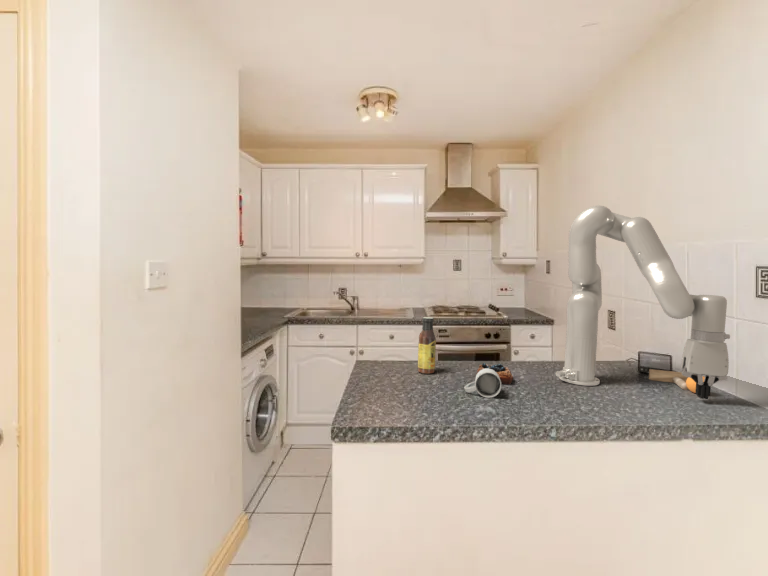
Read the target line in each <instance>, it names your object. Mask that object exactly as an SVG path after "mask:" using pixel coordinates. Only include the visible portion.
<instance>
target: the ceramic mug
mask: <svg viewBox="0 0 768 576" xmlns="http://www.w3.org/2000/svg"><path fill="white" fill-rule="evenodd" d="M502 385H503V384H501V380H500V378H499V376H498V374H497V373H496V372H495V371H494V370H492V369H489V368H485V369H482V370H480V371H479V372H478V373H477V372H476V374H475V380H474V381H472V382H469V383H468V384H466V385H465V386H464V387H463V388H464V391H465V393H473V392H476V393H478V395H480V396H481V397H483V398H486V399H489V398H490V399H491V398H492V399H493V398H495V397H497V395H499V394H500V392H501V390H502Z"/></svg>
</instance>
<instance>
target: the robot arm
mask: <svg viewBox="0 0 768 576" xmlns="http://www.w3.org/2000/svg"><path fill="white" fill-rule="evenodd" d="M568 232H569V233H568V251H567V253H568V259H567V260H568V272H567V273H568V279H569V280H570V281H571V285H572V287H571V290H572V293H571V295H570V296H569V297H568V300H567V302H566V332H565V352H564V366H563V367H562V370H557V371H556V372H555V376H556V377H557V378H559V379H560V380H561V381H563V382H565V383H569V384H571V385H572V384H573V385H576V386H577V385H578V386H585V387H586V386H587V387H592V386H593V387H594V386H598V385H600V379H599V378H597V377H595V376H596V363H597V349H598V348H597V347H598V331H599V330H598V328H599V327H598V326H599V324H598V323H599V311H600V309H601V307H602V304H603V301H602V299H603V298H602V297H603V295H602V294H603V293H602V270H601V268H600V266H599V264H598V263H597V236H598V235H600V236H602V237H605V238H609V239H612V240H616V241H618V242H622V243H625V244H626V246H627V249H628V250H629V251H630V252H629V253H630V254H631V255H632V258H633V259H634V262H635V263H636V265H637V267H638V269H639V271H640V272H641V274H642V276H643V277H644V278H645V279H646V281H647V282H648V284H649V286H650V288H651V289H652V292H653V293H654V295H655V298H656V299H657V301H658V303H659V305H660V307H661V309H662V310H663V312H664V314H665V315H667V316H668V317H670V318H672V319H676V320H682V319H686V318H688V317H691V330H690V338H687V339H686V341H685V344H684V348H683V351H682V358H681V364H680V365H681V369H682V371H681V372H682V375H684V376H686V377H689V378H692V379H693V380H694V381H695V382H696V393H695V394H696V396H697V397H698V398H700V399H702V400H703V399H705V400H709V397H710V396H711V391H712V390H711V387H713V386H714V384H715V383H718V382H719V381H720V382H721V381H727V380H728V373H729V365H730V364H729V363H730V362H729V351H728V345H727V343H726V342H725V341H726V340H729V339H730V338H731V335H730V334H727V333H726V332H725V331H726V320H727V318H726V317H727V307H728V306H727V305H728V300H727V298H726V297H725V296H722V295H715V294H714V295H712V294H699V295H696V294H690V292H689V291H688V290H687V288H686V286H685V284H684V282H683V281H682V279H681V277H680V275H679V273H678V271H677V269H676V268H675V264H674V263H673V261H672V259H671V257H670V255H669V253H668V251H667V250H666V248H665V247H664V244H663V243H662V241H661V239H660V237H659V236H658V233H657V232H656V229H655V228H654V226H653V225H652V223H651V222H650V220H648V219H647V218H645V217H643V216H642V217H641V216H635V217H629V216H625V215H622V214H619V213H615V212H612V210H610V208H608V207H607V206H604V205H599V204H598V205H593V206H590V207H588V208H586V209H584V210H582V212H580V213H579V214H578V215H577V216H576V217H575V218H574V220H573V221H572V223H571V226H570V228H569V231H568ZM703 376H704V377H705V379H704V382H703Z"/></svg>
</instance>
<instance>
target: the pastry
mask: <svg viewBox="0 0 768 576" xmlns="http://www.w3.org/2000/svg"><path fill="white" fill-rule="evenodd" d="M485 368H489V369H492V370H494V371H495V372H496V373H497V374H498V376H499V378H500V380H501V384H502V385H507V386H509V385H511V384H512V382H513V381H514V377H513V374H512V371H511V370H510V369H509V367H507V366H503V364H502V363H497V364H493V365H491V364H490V365H489V364H487V363H485V362H484V363H483V362H482V364H479V366H478V368H477V370H476V374H477V373H478V372H479V371H480V370H482V369H485Z"/></svg>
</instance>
